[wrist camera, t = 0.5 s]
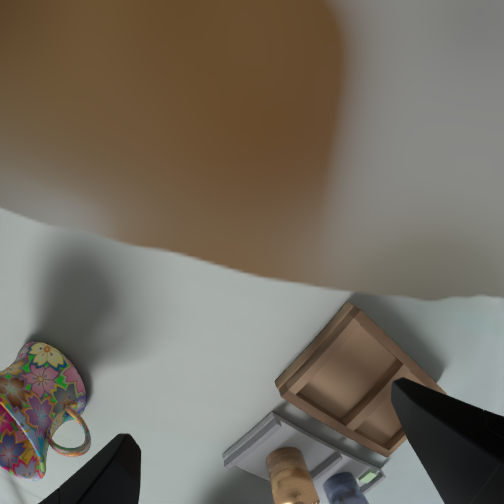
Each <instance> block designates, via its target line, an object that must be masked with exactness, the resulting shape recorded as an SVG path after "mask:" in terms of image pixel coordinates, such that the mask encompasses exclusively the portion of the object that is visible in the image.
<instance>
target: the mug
mask: <svg viewBox="0 0 504 504" xmlns="http://www.w3.org/2000/svg"><path fill="white" fill-rule="evenodd" d="M85 406H86V391H85V387H84V384H83V382H82V379H81V377H80V375H79V373H78V372H77V370H76V369H75V367H74V366H73V364H72V363H71V362H70V361H69V360H68V359H67V358H66V357H65V356H64V355H63V354H62V353H61V352H60V351H58V350H57V349H55V348H54V347H52V346H50V345H48V344H45V343H42V342H30V343H27V344H25V345H24V346H23V347H22V348H21V349H20V351H19V352H18V355H17V358H16V360H15V361H14V362H13V363H12V364H11V365H10V366H9V367H8V368H6V369H5V370H3V371H1V372H0V466H1V467H2V468H4V469H5V470H7V471H8V472H10V473H11V474H13V475H15V476H17V477H19V478H22V479H25V480H29V481H37V480H40V479H41V478H43V476H44V475H45V472H46V457H47V451H48V447H49V444H50V446H51V447H52V448H53V449H54V450H55V451H56V452H58V453H60V454H62V455H65V456H71V457H75V456H81V455H83V454H85V453H86V452H87V451H88V450H89V448H90V445H91V437H90V433H89V430H88V427H87V425H86V423H85V422H84V420H83V419H82V417H81V416H80V415H81V414H82V413H83V411H84V409H85ZM73 419H76V420H77V421H78V423H79V424H80V425H81V427H82V428H83V430H84V433H85V441H84V443H83V444H82V445H81V446H79V447H76V448H65V447H61V446H59V445H57V444H56V443H55V442H54V441H53V440H52V436H53V435H54V433H55V431H56V430H57V429H58V428H59V426H60V425H62V424H63V423H64V422H66V421H68V420H73Z"/></svg>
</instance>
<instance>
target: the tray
mask: <svg viewBox="0 0 504 504" xmlns="http://www.w3.org/2000/svg"><path fill="white" fill-rule="evenodd" d="M401 377H405V378H408V379H410V380H412V381H414V382H417V383H419V384H421V385H424V386H426V387H429V388H431V389H433V390H436V391H438V392H441V393H443V394H445V395H446V393H445V392H444V391H443V390H442V389H441V388H440V387H439V386H438V385H437V384H436V383H435V382H434V381H433V380H432V379H431V378H430V377H429V376H428V375H427V374H426V373H425V372H424V371H423V370H422V369H421V368H420V367H419V366H418V365H417V364H416V363H415V362H414V361H413V360H412V359H411V358H410V357H409V356H408V355H407V354H406V353H405V352H404V351H403V350H402V349H401V348H400V347H399V346H398V345H397V344H396V343H395V342H394V341H393V340H392V339H391V338H390V337H389V336H388V335H387V334H385V333H384V332H383V331H382V330H381V329H380V328H379V327H378V326H377V325H376V324H375V323H374V322H373V321H372V320H371V319H370V318H369V317H368V316H367V315H365V314H364V313H363V312H362V311H361V310H360V309H358V308H356V307H355V306H354V305H352V304H351V303H349V302H346V303H345V305H344V306H343V307H342V308H341V309H340V311H339V312H338V313H337V314H336V315H335V316H334V318H333V319H332V320H331V321H330V322H329V323H328V325H327V326H326V327H325V328H324V329H323V330H322V331H321V333H320V334H319V335H318V336H317V337H316V338H315V339H314V340H313V342H312V343H311V344H310V345H309V346H308V347H307V348H306V349H305V350H304V351H303V352H302V354H301V355H300V356H299V357H298V358H297V359H296V360H295V361H294V362H293V363H292V364H291V365H290V366H289V367H288V368H287V369H286V370H285V371H284V373H283V374H282V375H281V376H280V377H279V378H278V379H277V380H276V381H275V384H276V387H277V389H279V392H280V395H281V397H282V398H284V399H285V400H287V401H288V402H290V403H291V404H293V405H295V406H296V407H298V408H299V409H301V410H303V411H304V412H306V413H307V414H309V415H311V416H312V417H314V418H316V419H317V420H319V421H321V422H322V423H324V424H326V425H327V426H329V427H331V428H333V429H334V430H336V431H338V432H340V433H341V434H343V435H345V436H347V437H348V438H350V439H352V440H354V441H356V442H358V443H359V444H361V445H363V446H365V447H367V448H369V449H371V450H373V451H375V452H377V453H379V454H381V455H383V456H385V457H388V456H390V455H391V454H392V453H393V452H394V451H395V450H396V449H397V448H398V447H399V446H400V445H401V444H402V443H403V442H404V441H405V440H406V439H407V437H406V435H405V433H404V431H403V428H402V426H401V424H400V421H399V419H398V417H397V414H396V412H395V410H394V408H393V405H392V403H391V385H392V382H393V381H394V380H396V379H398V378H401Z"/></svg>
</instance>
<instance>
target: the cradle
mask: <svg viewBox="0 0 504 504" xmlns="http://www.w3.org/2000/svg"><path fill="white" fill-rule="evenodd" d="M281 447H295V448H298V449H299V450H301V452H302V454H303V456H304V459H305V462H306V465H307V467H308V470H309V473H310V475H311V478H312V481H313V484H314V486H315V489H316V492H317V494H318V497H319V500H321V501H325V502H328V503H329V501H328V499H327V496H326V494H325V491H324V489H323V484H324V482H325V481H326V480H327V479H328V478H329V477H331V476H333V475H335V474H337V473H341V472H350V473H352V474H353V476H354V478H355V480H356V481H357V483H358V485H359V487H360V489H361V491H362V492H363V494H366V493H367V492H368V491H370V490H371V489H372V488H373V487H375V486H376V485H377V484H378V483H380V482H381V481H382V480H383V479H384V478H385V477H386V476H385V475H384V474H383V471H382V470H381V469H380V468H378V467H376V466H373V465H371V464H369V463H367V462H365V461H362V460H360V459H358V458H356V457H354V456H352V455H350V454H348V453H346V452H344V451H342V450H340V449H338V448H336V447H334V446H332V445H330V444H328V443H326V442H324V441H322V440H321V439H319V438H317V437H315V436H313V435H311V434H310V433H308V432H306V431H304V430H302V429H301V428H299V427H297V426H295V425H294V424H292V423H290V422H289V421H287V420H285V419H284V418H282V417H280V416H279V415H277V414H275V413H274V412H271V413H270V414H269V415H268V416H267V417H266V418H264V419H263V420H262V421H261V422H260V423H259V424H258V425H257V426H256V427H254V428H253V429H252V430H251V431H250V432H249V433H248V434H246V435H245V436H244V437H243V438H242V439H241V440H239V441H238V442H237V443H236V444H235V445H233V446H232V447H231V448H230V449H228V450H227V451H226V452H225V453H224V454H223V460H224V466H225V467H226V468H228V469H231V468H232V467H234V466H237V467H239V468H241V469H243V470H245V471H247V472H249V473H252V474H254V475H256V476H258V477H261V478H263V479H265V480H267V481H270V480H269V475H268V470H267V464H266V458H267V456H268V455H269V454H270V453H271V452H272V451H274V450H276V449H278V448H281Z"/></svg>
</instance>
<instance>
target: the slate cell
mask: <svg viewBox="0 0 504 504" xmlns="http://www.w3.org/2000/svg"><path fill="white" fill-rule="evenodd" d="M323 489H324V491H325V494H326V496H327V499H328V501H329V504H369V503H368V501H367V500H366V498H365V496H364V494H363V492H362V491H361V489H360V487H359V485H358V483H357V481H356V480H355V478H354V476H353V474H352V473H350V472H341V473H337V474H335V475H333V476H331V477H329V478H328V479H327V480H326V481H325V482H324V484H323Z"/></svg>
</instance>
